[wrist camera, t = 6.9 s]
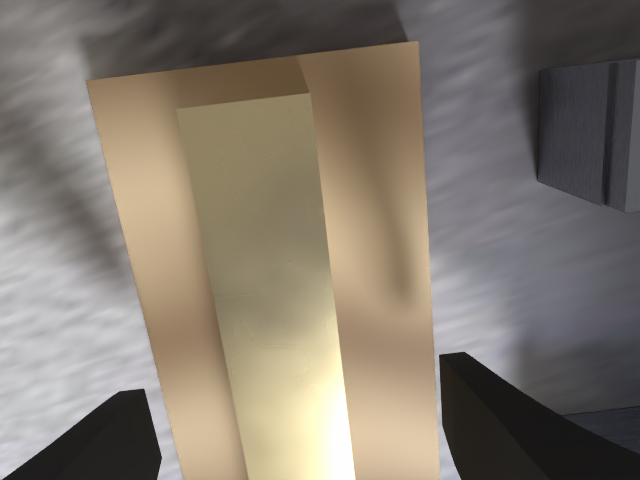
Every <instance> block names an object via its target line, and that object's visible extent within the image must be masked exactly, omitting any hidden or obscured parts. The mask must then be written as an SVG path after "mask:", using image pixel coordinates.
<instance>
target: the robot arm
mask: <svg viewBox="0 0 640 480" xmlns="http://www.w3.org/2000/svg"><path fill="white" fill-rule="evenodd" d="M439 362H440V383H441V404H442V425H443V429H444V432H445V436H446V439H447V442H448V445H449V449H450V452H451V455H452V458H453V461H454V464H455V466H456V469H457V471H458V473H459V475H460V478H461V480H640V454H639V453H636V452H634V451H631V450H629V449H627V448H624V447H622V446H620V445H618V444H615V443H613V442H611V441H609V440H607V439H605V438H603V437H601V436H599V435H597V434H595V433H593V432H591V431H589V430H587V429H585V428H583V427H581V426H579V425H577V424H575V423H573V422H571V421H569V420H568V419H566V418H564V417H562V416H561V415H559V414H557V413H555V412H554V411H552V410H550V409H549V408H547V407H545V406H544V405H542V404H540V403H539V402H537V401H535V400H534V399H532V398H531V397H529V396H528V395H526V394H524V393H523V392H521V391H520V390H518V389H517V388H515V387H514V386H512V385H511V384H509V383H508V382H507V381H505V380H504V379H502V378H501V377H499V376H498V375H497V374H495V373H494V372H492V371H491V370H490V369H488V368H487V367H485V366H484V365H483V364H481V363H480V362H478V361H477V360H476V359H474V358H473V357H471V356H470V355H468V354H467V353H465V352H458V353H450V354H441V355H439ZM161 460H162V456H161V452H160V448H159V445H158V441H157V437H156V433H155V429H154V425H153V421H152V417H151V413H150V410H149V406H148V402H147V398H146V394H145V390H144V389H137V390H128V391H119V392H118V393H116V394H115V395H113V396H112V397H110V398H109V399H108V400H106V401H105V402H104V403H102V404H101V405H100V406H98V407H97V408H96V409H95V410H93V411H92V412H91V413H89V414H88V415H87V416H86V417H84V418H83V419H82V420H81V421H79V422H78V423H77V424H76V425H74V426H73V427H72V428H70V429H69V430H68V431H67V432H65V433H64V434H63V435H61V436H60V437H59V438H58V439H56V440H55V441H54V442H53V443H51V444H50V445H49V446H47V447H46V448H45V449H43V450H42V451H41V452H39V453H38V454H37V455H35V456H34V457H32V458H31V459H30V460H28V461H27V462H26V463H24V464H23V465H22V466H20V467H19V468H17V469H16V470H15V471H13V472H12V473H11V474H9V475H8V476H7V477H5V478H4V479H2V480H157V477H158V473H159V468H160V464H161Z"/></svg>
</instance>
